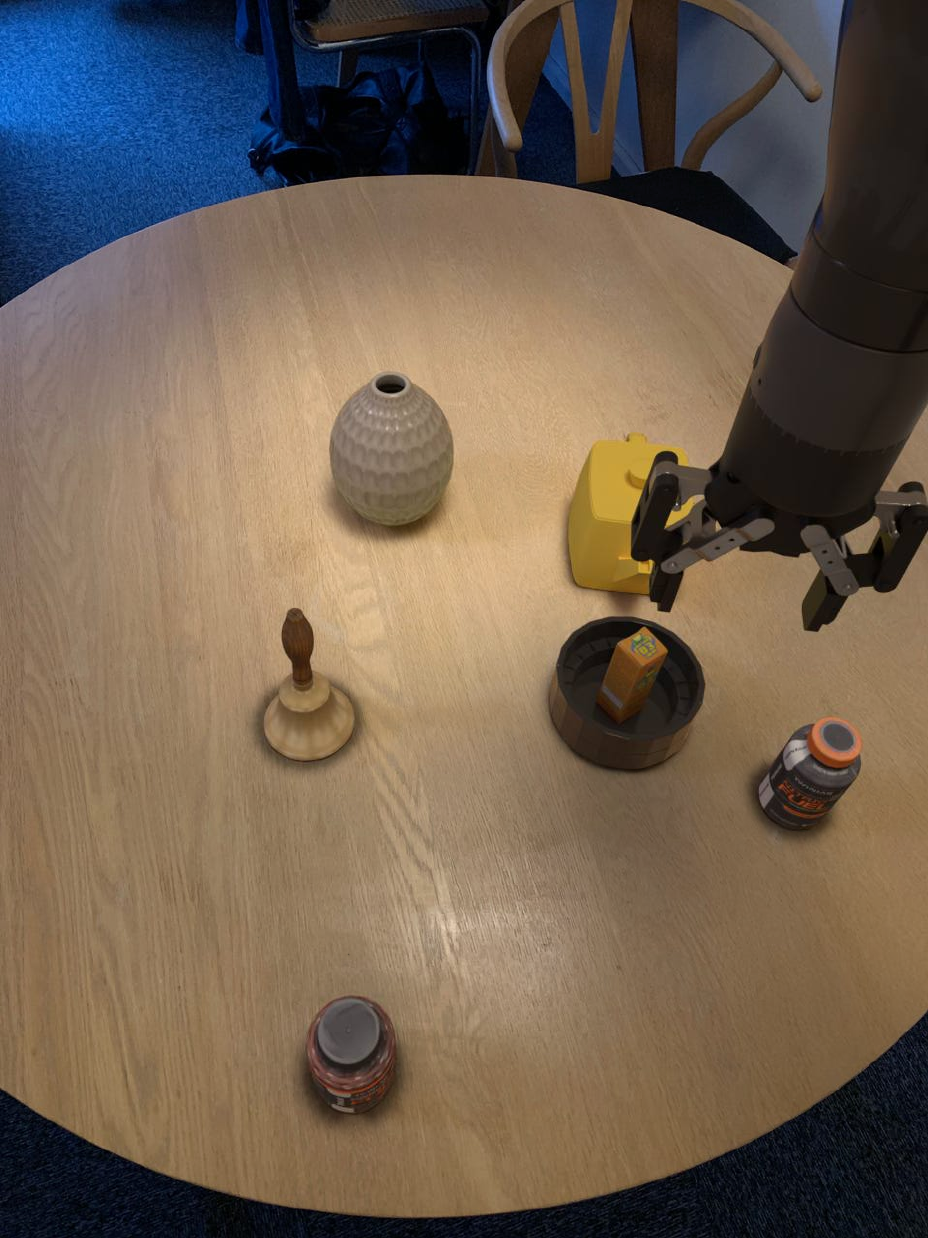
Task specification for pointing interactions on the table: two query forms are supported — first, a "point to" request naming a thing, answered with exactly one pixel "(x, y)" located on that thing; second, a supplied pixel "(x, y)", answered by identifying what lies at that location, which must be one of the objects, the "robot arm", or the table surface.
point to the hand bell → (306, 702)
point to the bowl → (645, 731)
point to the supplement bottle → (352, 1053)
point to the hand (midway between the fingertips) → (735, 610)
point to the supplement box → (631, 675)
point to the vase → (391, 450)
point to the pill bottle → (811, 773)
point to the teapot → (613, 514)
